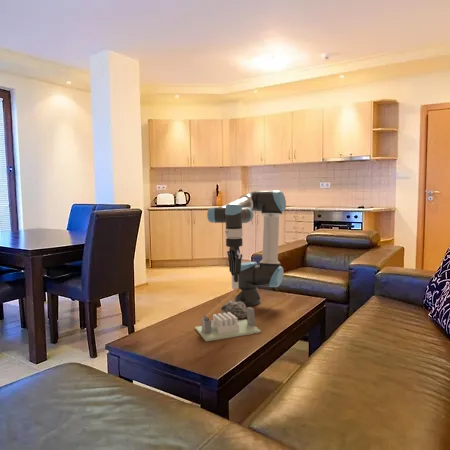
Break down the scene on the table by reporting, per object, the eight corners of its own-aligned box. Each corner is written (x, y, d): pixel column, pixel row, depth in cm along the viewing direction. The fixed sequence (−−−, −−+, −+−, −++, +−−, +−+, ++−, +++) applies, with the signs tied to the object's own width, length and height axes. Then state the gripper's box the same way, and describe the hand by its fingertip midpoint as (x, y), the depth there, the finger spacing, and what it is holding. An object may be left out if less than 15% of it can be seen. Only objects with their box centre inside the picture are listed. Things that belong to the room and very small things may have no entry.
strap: (207, 321, 173) (206, 319, 172) (204, 317, 177) (202, 316, 177) (241, 291, 178) (240, 289, 177) (237, 288, 182) (236, 286, 182)
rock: (215, 316, 199) (217, 298, 197) (223, 311, 206) (225, 293, 204) (242, 326, 192) (244, 307, 190) (249, 320, 199) (252, 302, 197)
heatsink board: (195, 328, 183) (194, 310, 182) (245, 321, 192) (245, 303, 191) (206, 341, 167) (205, 321, 166) (260, 332, 176) (260, 313, 175)
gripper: (221, 236, 182) (222, 286, 184) (231, 239, 170) (232, 292, 172) (236, 235, 184) (237, 284, 186) (247, 238, 172) (248, 290, 174)
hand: (235, 288), depth 179 cm, fingers closed
